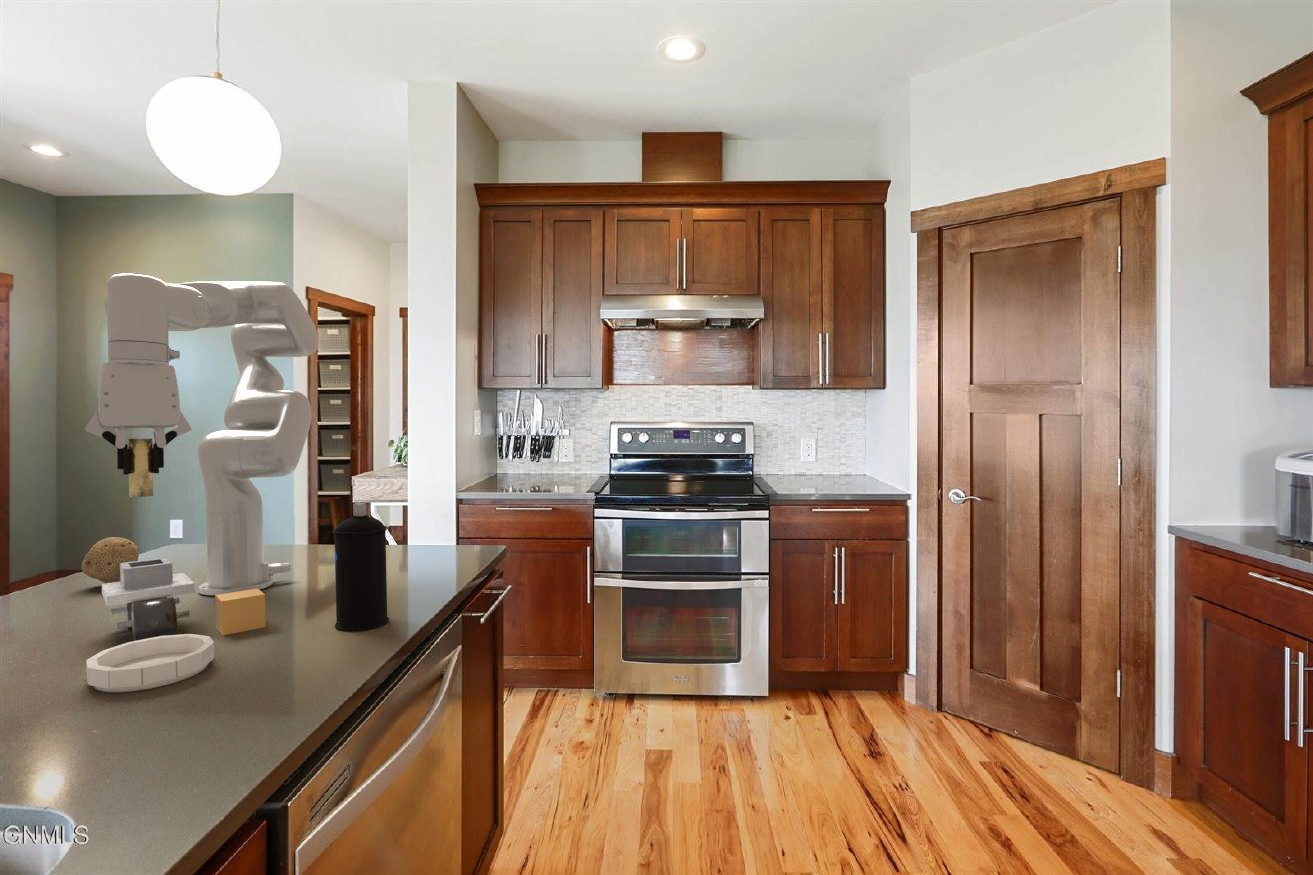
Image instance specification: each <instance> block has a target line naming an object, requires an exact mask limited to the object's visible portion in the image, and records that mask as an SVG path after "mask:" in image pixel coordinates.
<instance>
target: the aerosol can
mask: <svg viewBox="0 0 1313 875" xmlns="http://www.w3.org/2000/svg"><path fill="white" fill-rule="evenodd" d="M352 507H353V509H352V510H353V511H352V512H353V515H352V516H351V517H349V518H346V519H344V520H342V521H340V523H339V524H338V525H337V526H336V528H334V529H333V530H332V534H333V535H334V536H333V537H334V566H335V567H334V569H335V570H334V571H335V572H334V573H335V575H334V576H335V612H336V614H335V617H336V619H335V620H336V622H335V624H334V628H335V629H336V630H338V631H342V632H363V631H364V632H365V631H370V630H375V629H377V628H378V629H379V628H381V627H382V626H385V625H387V624H388V623H389V621H390V617H389V616H388V592H387V591H388V588H387V587H388V585H387V583H388V582H387V544H386V543H387V537H386V532H387V530H388V526H386V525H384V523H383V522H382V521H381V520H379V519H378V518H376V517H372V516H369V515H367V503H366V502H356V503H355V502H354V503H353V504H352Z"/></svg>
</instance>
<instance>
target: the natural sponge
mask: <svg viewBox="0 0 1313 875" xmlns="http://www.w3.org/2000/svg"><path fill="white" fill-rule="evenodd" d="M139 556H140V552H139V548H138V545H136V544H135V543H134V542H132V540H130V539H128V538H125V537H117V536H111V537H110V536H109V537H105V538H103V539H101V540H98V541H96V543H95V544H93V545H92V546H91V548H90V549H89V551H87V553H86V555H85V556H84V558H83V560H82V561H81V570H82V572H83V574H84V575H85V576H87V577H89V578H92V579H95V580H98V581H100V582H102V584H106V583H113V582H120V581H121V578H120V563H125V562H134V561H139Z"/></svg>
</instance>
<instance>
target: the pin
mask: <svg viewBox="0 0 1313 875" xmlns="http://www.w3.org/2000/svg"><path fill="white" fill-rule="evenodd" d="M127 441H128V442H127V445H128V449H130V474H128V496H129V498H144V497H145V498H146V497H154V473H153V459H152V449H153V444H154V441H153V438H128V440H127Z"/></svg>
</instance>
